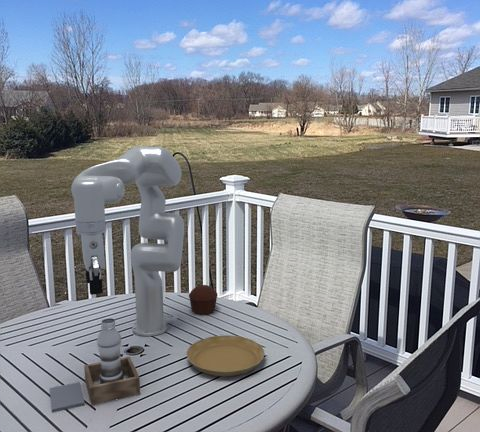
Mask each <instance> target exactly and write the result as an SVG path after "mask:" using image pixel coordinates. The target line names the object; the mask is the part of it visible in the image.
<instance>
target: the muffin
mask: <svg viewBox="0 0 480 432" xmlns="http://www.w3.org/2000/svg"><path fill="white" fill-rule="evenodd" d="M218 296H219V295H218V292H217V291H216V290H215V289H214V288H213V287H211V286H210V285H207V284H200V285H196V286H195V287H194V288H193V289H192V290H191V291H190V293H189V294H188V297H189V303H190V307H191V312H192V313H193V314H194V315H198V316H208V315H210V314H214V312H215V311H216V306H217V298H218Z"/></svg>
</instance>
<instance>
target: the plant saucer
mask: <svg viewBox="0 0 480 432" xmlns="http://www.w3.org/2000/svg"><path fill="white" fill-rule="evenodd" d="M264 357H265V349H264V347H263V346H262V345H261V344H260V343H258V342H257V341H255V340H254V339H251V338H248V337H244V336H239V335H231V334H230V335H227V334H226V335H225V334H223V335H213V336H207V337H205V338H201V339H200V340H196V341H195V342H193V343H192V344H191V345H190V346H189V347H188V348H187V351H186V358H187V360H188V362H189V363H190V364H191V366H192V367H194V368H195V369H196V370H198V371H200V372H201V373H204V374H205V375H206V374H207V375H210V376H213V377H225V378H226V377H235V376H241V375H244V374H246V373H248V372H251V371H252V370H254V369H255V368H257V367H258V366H259V365H260V364H261V362H262V361H263V359H264Z"/></svg>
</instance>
